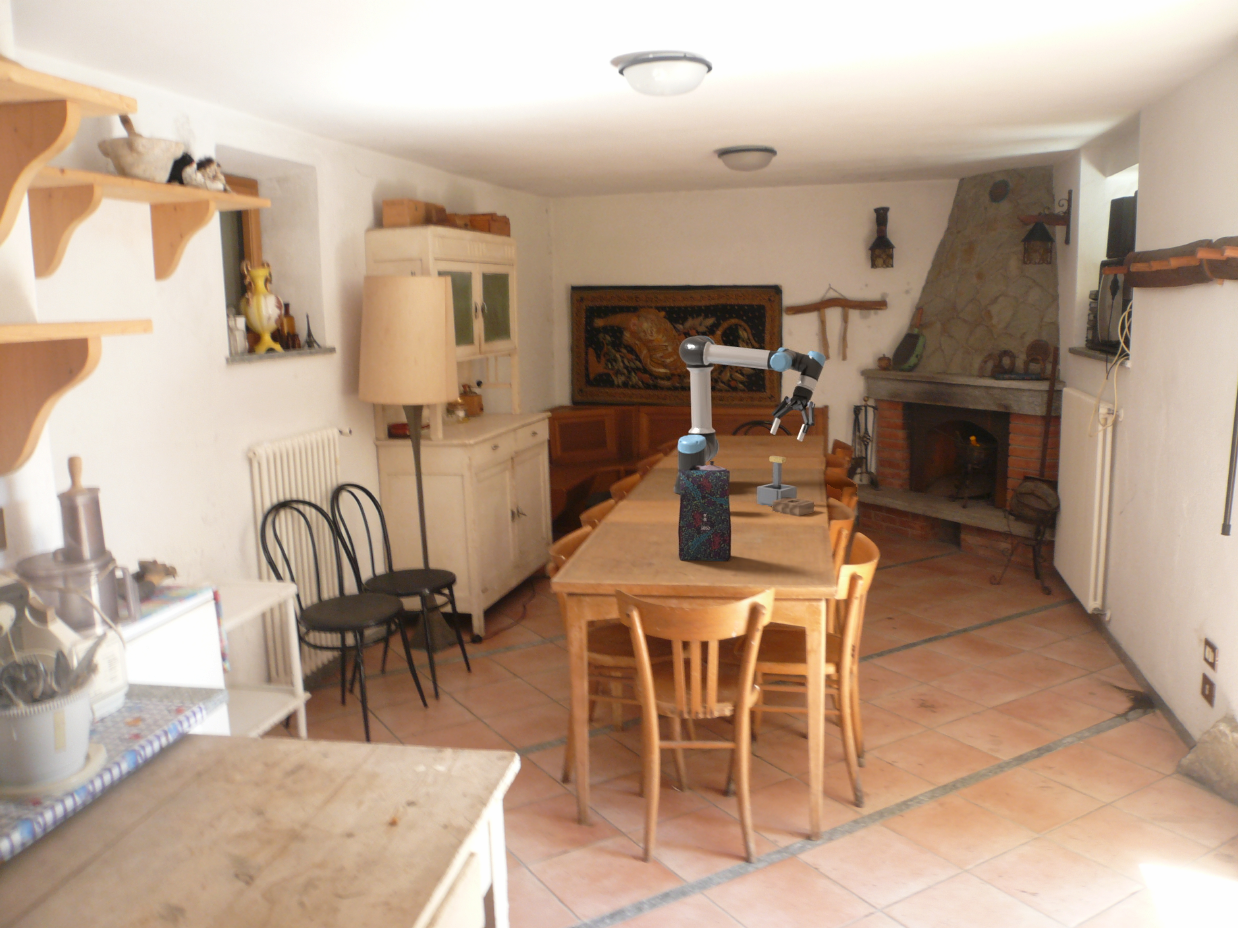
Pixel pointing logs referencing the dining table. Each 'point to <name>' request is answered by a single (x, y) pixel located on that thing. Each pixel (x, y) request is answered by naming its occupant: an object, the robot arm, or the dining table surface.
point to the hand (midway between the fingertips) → (785, 437)
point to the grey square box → (774, 493)
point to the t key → (777, 470)
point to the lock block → (793, 506)
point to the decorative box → (704, 515)
